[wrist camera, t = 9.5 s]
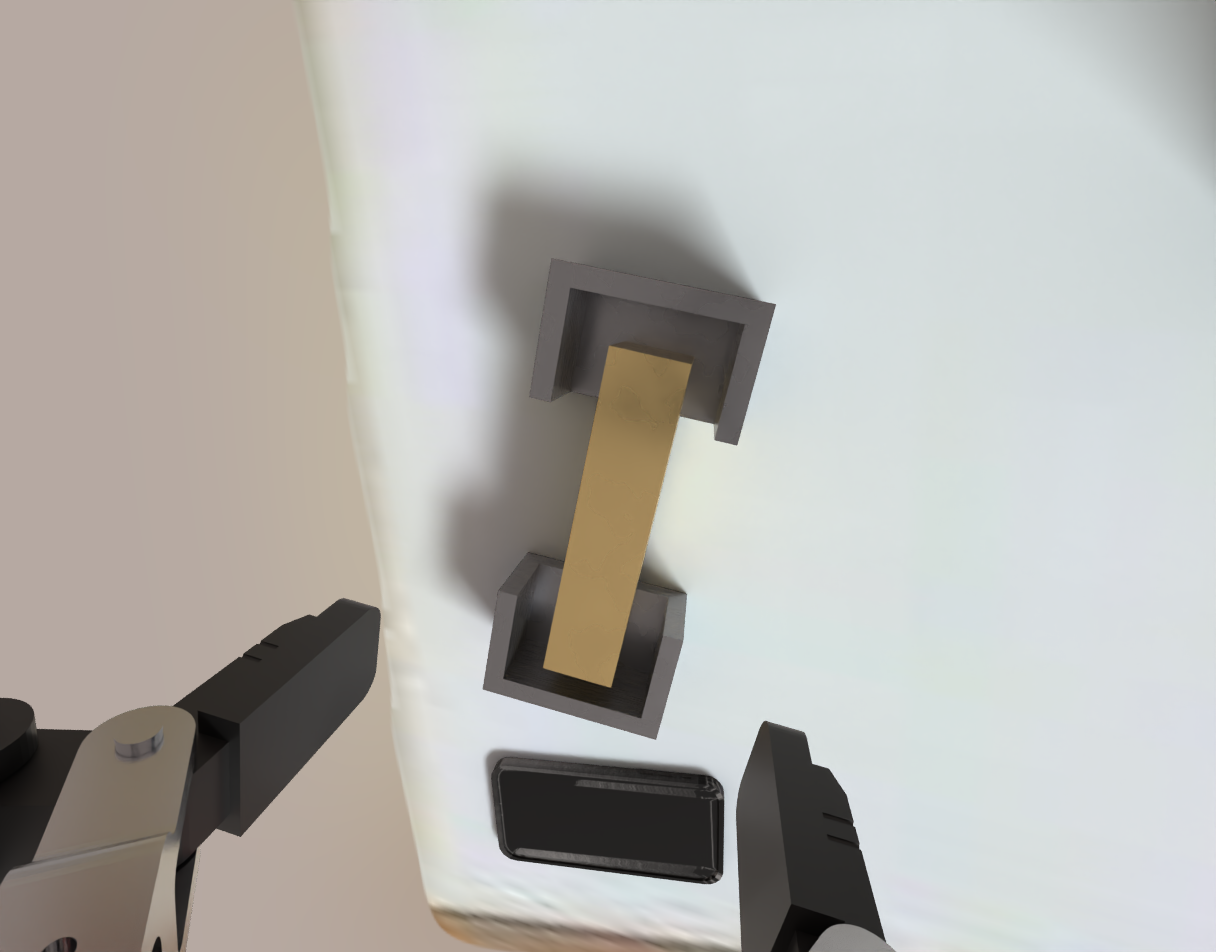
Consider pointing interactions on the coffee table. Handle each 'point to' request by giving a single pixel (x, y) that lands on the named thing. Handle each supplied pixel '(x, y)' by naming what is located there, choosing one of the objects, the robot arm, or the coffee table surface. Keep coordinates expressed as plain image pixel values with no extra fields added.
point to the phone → (610, 819)
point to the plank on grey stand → (574, 361)
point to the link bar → (616, 507)
